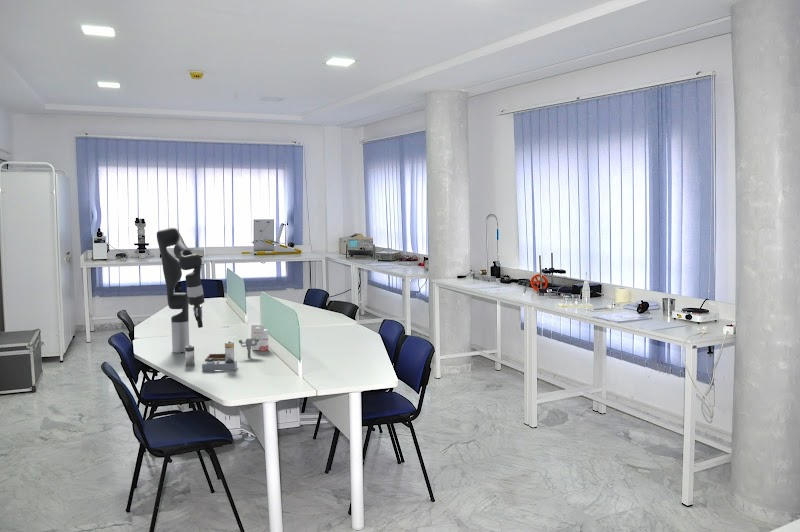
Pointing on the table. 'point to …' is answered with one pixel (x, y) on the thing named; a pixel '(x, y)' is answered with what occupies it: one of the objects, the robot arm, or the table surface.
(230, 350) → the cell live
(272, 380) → the table surface
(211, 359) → the plunger
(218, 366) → the tester
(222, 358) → the bin
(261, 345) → the ink cartridge box
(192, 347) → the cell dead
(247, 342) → the mechanical component
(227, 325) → the table surface
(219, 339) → the table surface
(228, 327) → the table surface
